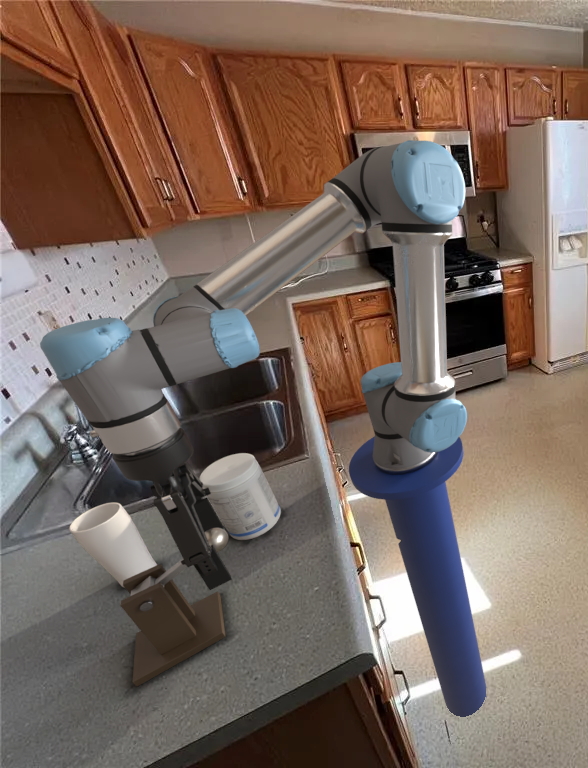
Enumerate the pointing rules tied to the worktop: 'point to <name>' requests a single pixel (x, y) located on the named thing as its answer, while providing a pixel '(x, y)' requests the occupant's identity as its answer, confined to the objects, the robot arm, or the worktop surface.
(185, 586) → the worktop surface
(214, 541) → the tap lever
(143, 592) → the bracket
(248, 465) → the supplement tub
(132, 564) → the white tapered cylinder
